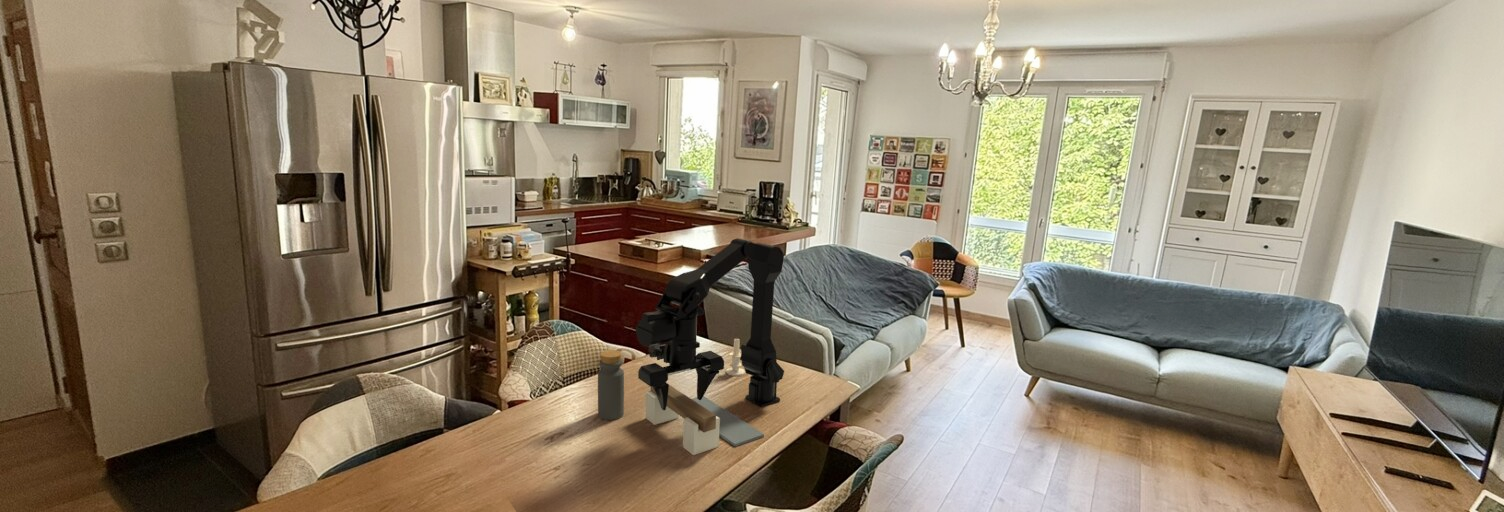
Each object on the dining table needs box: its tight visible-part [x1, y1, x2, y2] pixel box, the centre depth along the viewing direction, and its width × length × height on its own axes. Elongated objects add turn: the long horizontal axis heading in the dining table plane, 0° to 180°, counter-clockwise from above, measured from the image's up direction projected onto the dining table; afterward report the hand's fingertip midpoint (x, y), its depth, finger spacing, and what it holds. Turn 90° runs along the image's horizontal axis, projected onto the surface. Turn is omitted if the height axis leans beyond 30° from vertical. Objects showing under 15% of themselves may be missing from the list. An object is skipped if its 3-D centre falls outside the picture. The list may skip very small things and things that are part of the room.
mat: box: [691, 396, 765, 448], centre depth 140 cm, size 8×24×1 cm, turn 39°
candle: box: [725, 338, 746, 377], centre depth 168 cm, size 5×5×10 cm
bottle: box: [597, 349, 625, 421], centre depth 139 cm, size 6×6×15 cm
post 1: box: [645, 390, 680, 426], centre depth 139 cm, size 6×4×6 cm, turn 129°
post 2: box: [682, 416, 720, 456], centre depth 127 cm, size 6×4×6 cm, turn 129°
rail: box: [650, 382, 716, 432], centre depth 133 cm, size 3×22×3 cm, turn 39°
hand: (681, 404), depth 133 cm, fingers open, 9 cm apart
